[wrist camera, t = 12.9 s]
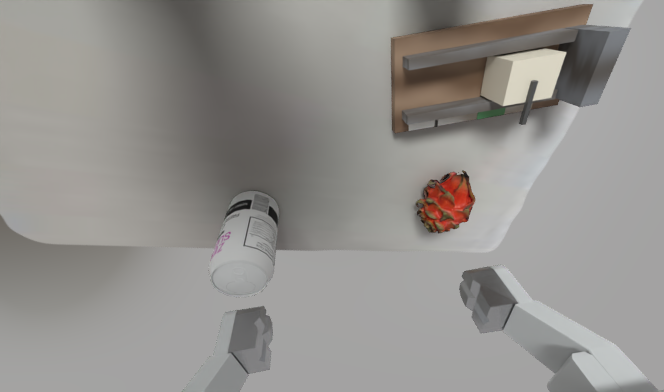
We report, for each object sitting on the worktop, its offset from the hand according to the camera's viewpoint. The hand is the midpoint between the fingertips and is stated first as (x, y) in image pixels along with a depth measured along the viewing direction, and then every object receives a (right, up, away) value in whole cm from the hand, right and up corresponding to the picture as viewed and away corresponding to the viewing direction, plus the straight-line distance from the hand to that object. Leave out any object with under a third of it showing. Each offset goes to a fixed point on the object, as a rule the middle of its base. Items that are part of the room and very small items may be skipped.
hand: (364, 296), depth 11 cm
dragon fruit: (+17, +5, +37) cm, 41 cm away
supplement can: (-15, +2, +35) cm, 38 cm away
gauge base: (+19, +21, +26) cm, 38 cm away
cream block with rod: (+22, +19, +25) cm, 39 cm away
